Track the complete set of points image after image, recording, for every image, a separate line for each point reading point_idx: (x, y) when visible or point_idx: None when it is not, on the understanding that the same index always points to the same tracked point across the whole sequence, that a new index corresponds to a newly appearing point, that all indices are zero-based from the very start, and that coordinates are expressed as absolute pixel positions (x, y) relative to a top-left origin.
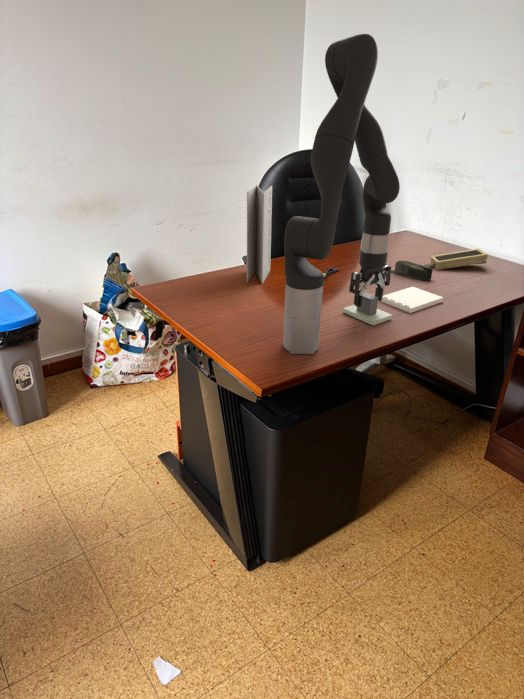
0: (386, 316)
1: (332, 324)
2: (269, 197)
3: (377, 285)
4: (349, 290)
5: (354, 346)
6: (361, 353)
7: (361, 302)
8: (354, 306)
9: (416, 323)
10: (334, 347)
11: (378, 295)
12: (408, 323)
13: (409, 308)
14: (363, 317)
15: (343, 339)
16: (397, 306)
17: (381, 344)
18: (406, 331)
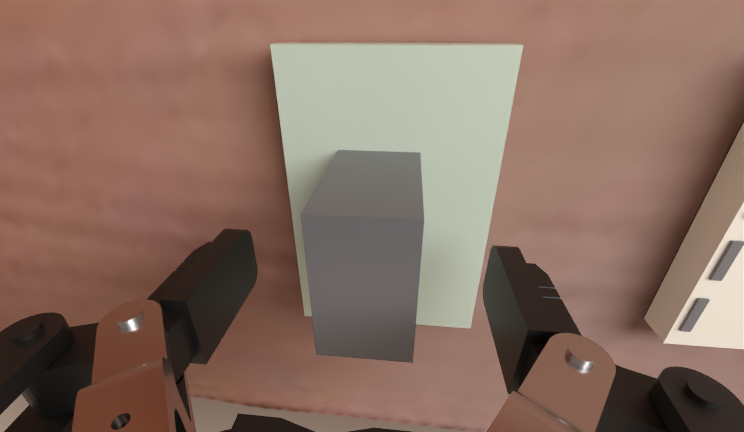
0: (422, 321)
1: (112, 152)
2: None
3: (543, 370)
4: (2, 336)
5: None
6: None
7: (236, 306)
8: (381, 82)
9: None
10: (29, 315)
11: (498, 308)
12: (490, 368)
13: (666, 331)
14: (298, 249)
15: (95, 296)
16: (697, 237)
17: (223, 393)
18: (402, 396)
